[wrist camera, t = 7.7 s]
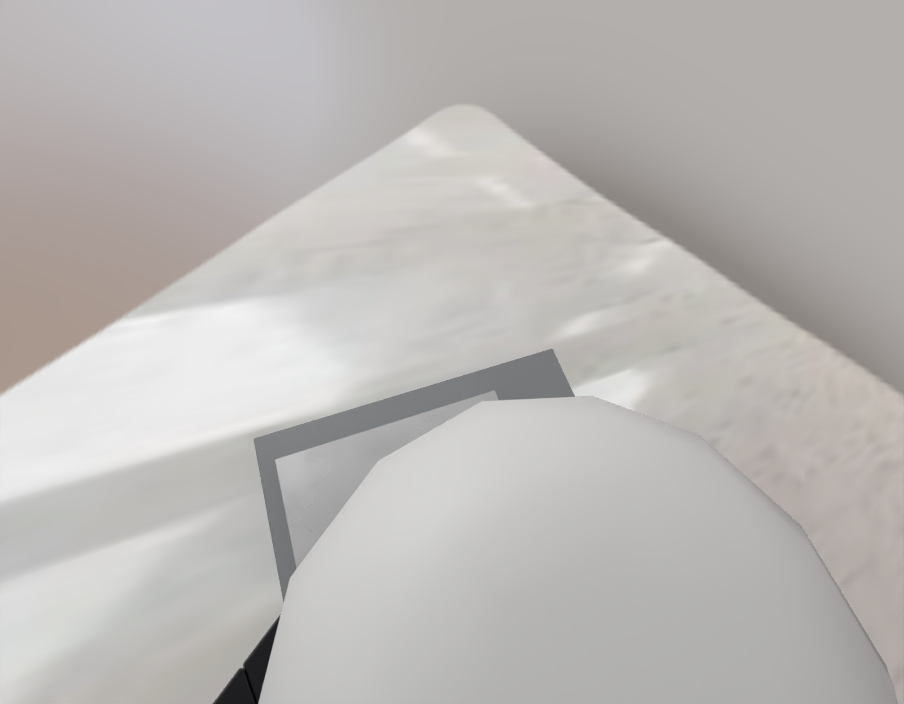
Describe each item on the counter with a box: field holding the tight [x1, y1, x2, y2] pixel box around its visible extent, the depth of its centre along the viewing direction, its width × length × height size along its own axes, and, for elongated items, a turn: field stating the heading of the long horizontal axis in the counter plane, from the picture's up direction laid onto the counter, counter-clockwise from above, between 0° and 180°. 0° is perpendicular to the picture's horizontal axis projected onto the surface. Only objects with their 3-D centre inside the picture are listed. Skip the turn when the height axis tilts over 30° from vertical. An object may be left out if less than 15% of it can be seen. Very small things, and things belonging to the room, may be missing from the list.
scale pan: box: [275, 390, 499, 568], centre depth 15 cm, size 11×9×1 cm
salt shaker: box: [258, 396, 898, 704], centre depth 8 cm, size 6×6×13 cm
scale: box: [254, 349, 575, 602], centre depth 18 cm, size 14×14×3 cm
